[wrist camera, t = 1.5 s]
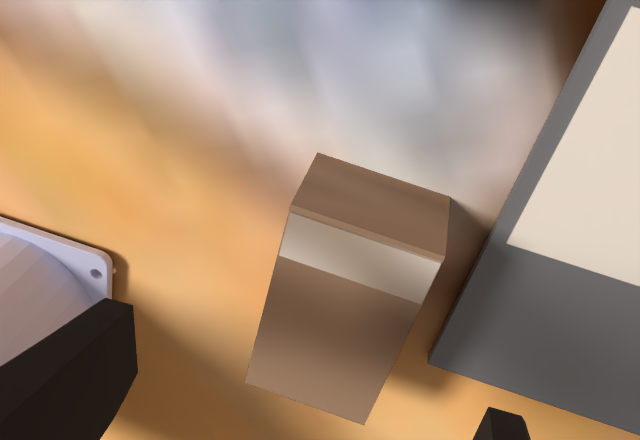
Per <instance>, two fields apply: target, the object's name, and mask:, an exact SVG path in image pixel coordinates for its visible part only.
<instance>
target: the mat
mask: <svg viewBox="0 0 640 440" xmlns="http://www.w3.org/2000/svg"><path fill="white" fill-rule="evenodd" d="M427 364H430V365H433V366H436V367H439V368H442V369H445V370H448V371H451V372H454V373H457V374H460V375H463V376H466V377H469V378H472V379H475V380H478V381H480V382H483V383H486V384H489V385H492V386H495V387H498V388H501V389H504V390H507V391H510V392H513V393H516V394H519V395H522V396H525V397H528V398H531V399H534V400H537V401H540V402H543V403H546V404H549V405H552V406H554V407H557V408H560V409H563V410H566V411H569V412H572V413H575V414H578V415H581V416H584V417H587V418H590V419H593V420H596V421H599V422H602V423H605V424H608V425H611V426H614V427H617V428H620V429H623V430H626V431H628V432H631V433H634V434H637V435H640V0H607V1H606V3H605V5H604V7H603V9H602V11H601V13H600V15H599V17H598V19H597V21H596V23H595V25H594V27H593V29H592V31H591V33H590V35H589V37H588V39H587V41H586V43H585V45H584V47H583V49H582V51H581V53H580V55H579V57H578V59H577V61H576V63H575V65H574V67H573V69H572V71H571V73H570V75H569V77H568V79H567V81H566V82H565V84H564V86H563V88H562V90H561V92H560V94H559V96H558V98H557V100H556V102H555V104H554V106H553V108H552V110H551V112H550V114H549V116H548V118H547V120H546V122H545V124H544V126H543V128H542V130H541V132H540V134H539V136H538V138H537V140H536V142H535V144H534V146H533V148H532V150H531V152H530V154H529V156H528V158H527V160H526V162H525V164H524V166H523V168H522V170H521V172H520V174H519V176H518V178H517V180H516V182H515V184H514V186H513V188H512V190H511V192H510V194H509V196H508V198H507V200H506V202H505V204H504V206H503V208H502V210H501V212H500V214H499V216H498V218H497V220H496V222H495V224H494V226H493V228H492V230H491V232H490V234H489V236H488V238H487V240H486V242H485V244H484V246H483V248H482V250H481V252H480V254H479V256H478V258H477V260H476V262H475V264H474V266H473V268H472V270H471V272H470V274H469V276H468V278H467V280H466V282H465V284H464V286H463V288H462V290H461V292H460V294H459V296H458V298H457V300H456V302H455V304H454V306H453V307H452V309H451V311H450V313H449V315H448V317H447V319H446V321H445V323H444V325H443V327H442V329H441V331H440V333H439V335H438V337H437V339H436V341H435V343H434V345H433V347H432V349H431V351H430V353H429V355H428V363H427Z"/></svg>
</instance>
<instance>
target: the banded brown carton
mask: <svg viewBox="0 0 640 440" xmlns="http://www.w3.org/2000/svg"><path fill="white" fill-rule="evenodd" d="M449 209H450V197H449V196H446V195H443V194H440V193H437V192H434V191H431V190H428V189H425V188H422V187H419V186H416V185H413V184H410V183H407V182H404V181H401V180H398V179H395V178H392V177H389V176H386V175H383V174H380V173H377V172H374V171H371V170H368V169H365V168H362V167H359V166H356V165H353V164H350V163H347V162H344V161H341V160H338V159H335V158H332V157H329V156H326V155H323V154H320V153H317V155H316V157H315V158H314V160H313V162H312V164H311V166H310V168H309V170H308V172H307V174H306V176H305V178H304V180H303V182H302V184H301V186H300V187H299V189H298V191H297V193H296V195H295V197H294V199H293V201H292V203H291V205H290V209H289V213H288V217H287V221H286V225H285V228H284V232H283V236H282V240H281V244H280V248H279V252H278V255H277V259H276V263H275V267H274V271H273V275H272V279H271V282H270V286H269V290H268V294H267V298H266V302H265V306H264V309H263V313H262V317H261V321H260V325H259V329H258V333H257V336H256V340H255V344H254V348H253V352H252V356H251V360H250V363H249V367H248V371H247V375H246V379H245V383H247V384H250V385H252V386H255V387H258V388H261V389H264V390H266V391H269V392H272V393H275V394H278V395H280V396H283V397H286V398H289V399H292V400H294V401H297V402H300V403H303V404H306V405H308V406H311V407H314V408H317V409H320V410H322V411H325V412H328V413H331V414H334V415H336V416H339V417H342V418H345V419H348V420H350V421H353V422H356V423H359V424H362V425H364V424H365V422H366V420H367V418H368V416H369V414H370V412H371V410H372V408H373V406H374V404H375V402H376V400H377V397H378V395H379V393H380V391H381V389H382V387H383V385H384V383H385V381H386V379H387V377H388V375H389V373H390V371H391V369H392V367H393V364H394V362H395V360H396V358H397V356H398V354H399V352H400V350H401V348H402V346H403V344H404V342H405V340H406V338H407V336H408V334H409V331H410V329H411V327H412V325H413V323H414V321H415V319H416V317H417V315H418V313H419V311H420V309H421V307H422V305H423V303H424V301H425V298H426V296H427V294H428V292H429V290H430V288H431V286H432V284H433V282H434V280H435V278H436V276H437V274H438V272H439V270H440V268H441V266H442V263H443V261H444V259H445V257H446V246H447V234H448V222H449Z"/></svg>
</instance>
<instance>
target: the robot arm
mask: <svg viewBox="0 0 640 440" xmlns="http://www.w3.org/2000/svg"><path fill="white" fill-rule="evenodd" d="M112 267H113V264H112V260H111V258H110V256H109V255H108V254H107V253H105V252H103V251H101V250H98V249H95V248H92V247H89V246H86V245H83V244H80V243H77V242H75V241H72V240H69V239H66V238H63V237H60V236H57V235H54V234H51V233H48V232H45V231H42V230H39V229H36V228H33V227H30V226H27V225H24V224H21V223H18V222H15V221H12V220H9V219H6V218H3V217H0V440H100V438H101V437H102V435H103V434H104V432H105V431H106V429H107V428H108V426H109V425H110V423H111V422H112V420H113V419H114V417H115V415H116V414H117V412H118V410H119V408H120V406H121V404H122V402H123V400H124V399H125V397H126V395H127V393H128V391H129V389H130V387H131V385H132V383H133V381H134V379H135V377H136V375H137V373H138V368H137V354H136V341H135V327H134V314H133V305H130V304H126V303H123V302H119V301H116V300H112ZM99 271H100V272H101V273H100V272H99ZM473 440H531V439H530V436H529V433H528V430H527V426H526V423H525V421H524V419H523V418H522V416H520V415H516V414H513V413H509V412H506V411H502V410H499V409H495V408H492V407H488V409H487V411H486V413H485V415H484V417H483V419H482V421H481V423H480V425H479V427H478V430H477V432H476V434H475V436H474V438H473Z"/></svg>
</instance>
